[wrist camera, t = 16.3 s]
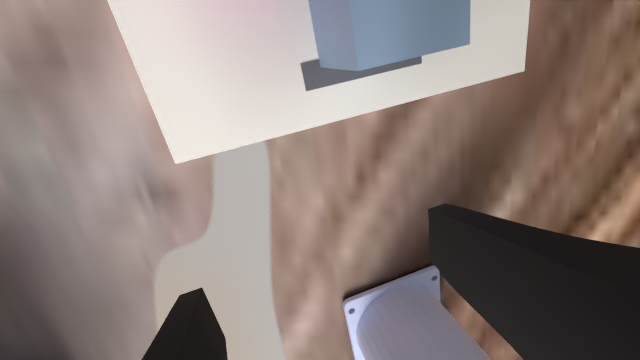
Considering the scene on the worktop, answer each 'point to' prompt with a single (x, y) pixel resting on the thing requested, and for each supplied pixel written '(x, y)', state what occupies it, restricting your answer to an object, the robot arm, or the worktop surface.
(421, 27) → the blue cube
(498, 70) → the letter board
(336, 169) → the worktop surface
